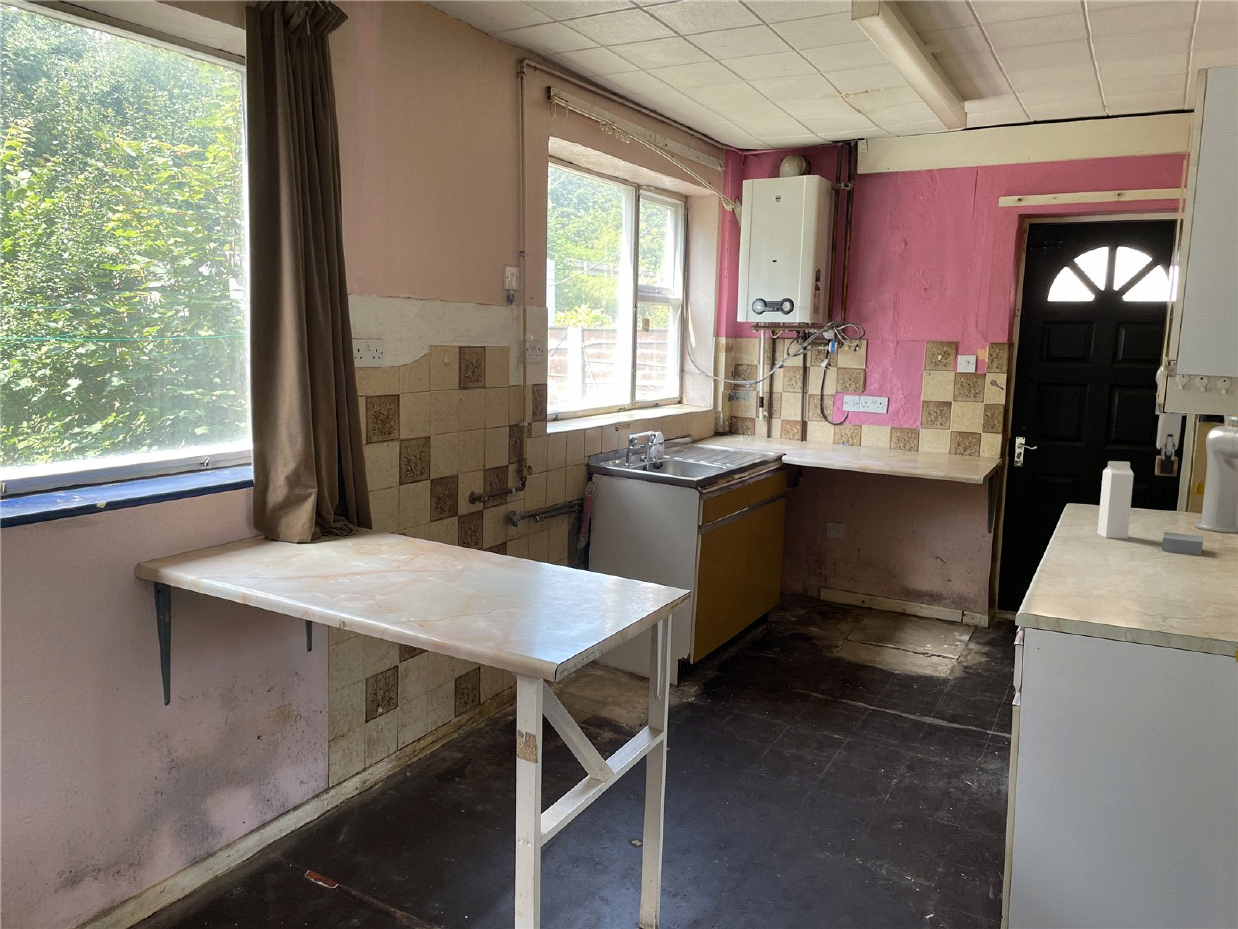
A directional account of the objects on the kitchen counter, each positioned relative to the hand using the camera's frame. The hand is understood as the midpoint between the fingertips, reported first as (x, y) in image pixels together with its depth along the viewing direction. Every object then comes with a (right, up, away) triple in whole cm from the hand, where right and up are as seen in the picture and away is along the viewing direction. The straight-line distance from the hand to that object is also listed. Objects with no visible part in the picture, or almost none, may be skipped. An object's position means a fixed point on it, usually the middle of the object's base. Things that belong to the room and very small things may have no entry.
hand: (1165, 471), depth 251 cm
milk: (-13, -19, +4) cm, 23 cm away
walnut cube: (0, -1, 0) cm, 1 cm away
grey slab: (-4, -22, -13) cm, 25 cm away
